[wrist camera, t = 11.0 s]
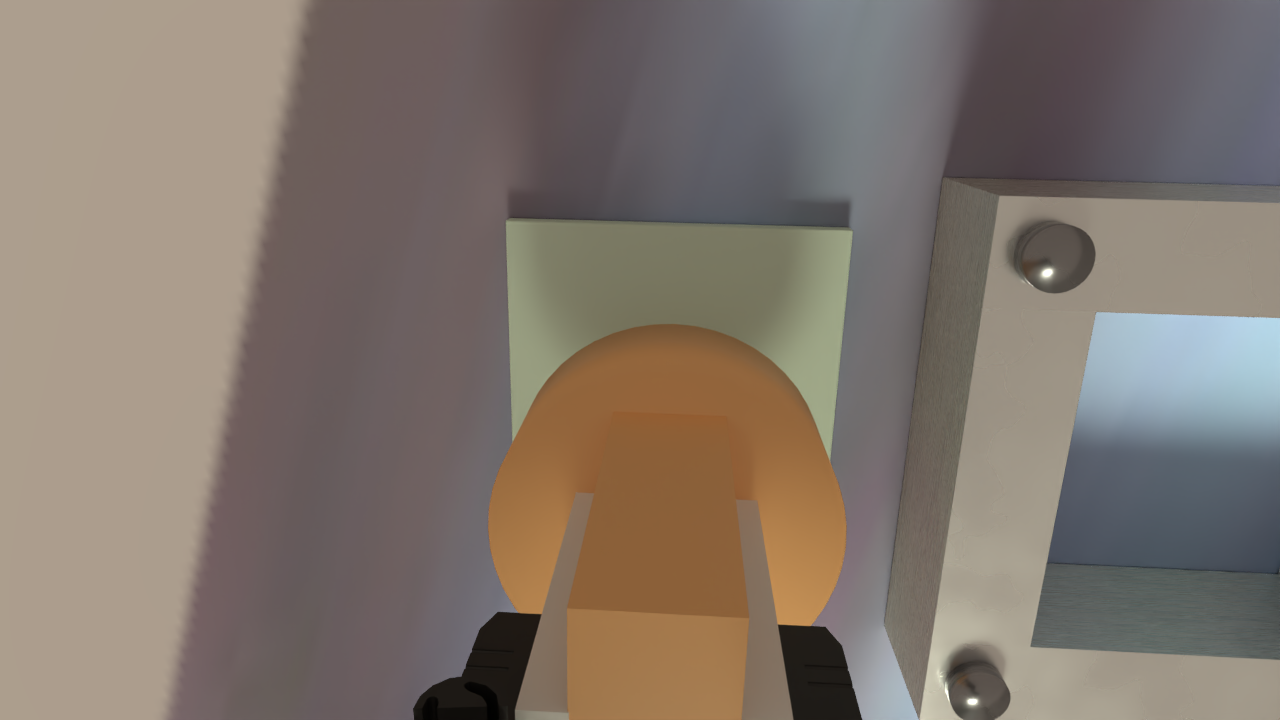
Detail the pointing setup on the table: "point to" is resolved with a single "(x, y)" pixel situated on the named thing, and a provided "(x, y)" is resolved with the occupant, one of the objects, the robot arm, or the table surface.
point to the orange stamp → (666, 516)
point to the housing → (1065, 460)
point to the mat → (678, 295)
